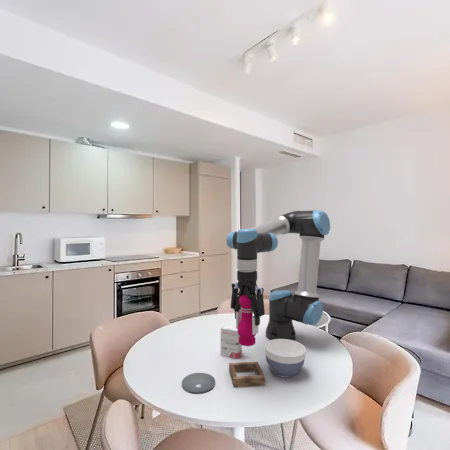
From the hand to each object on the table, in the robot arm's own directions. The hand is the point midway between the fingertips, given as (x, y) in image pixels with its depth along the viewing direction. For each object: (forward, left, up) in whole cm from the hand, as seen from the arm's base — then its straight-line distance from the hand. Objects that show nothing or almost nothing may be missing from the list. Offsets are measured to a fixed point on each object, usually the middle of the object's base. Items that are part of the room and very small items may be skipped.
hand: (247, 330), depth 109 cm
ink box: (+3, -19, -18) cm, 26 cm away
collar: (0, 0, -18) cm, 18 cm away
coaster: (+18, +2, -18) cm, 26 cm away
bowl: (-16, -3, -18) cm, 24 cm away
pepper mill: (0, 0, -5) cm, 5 cm away
